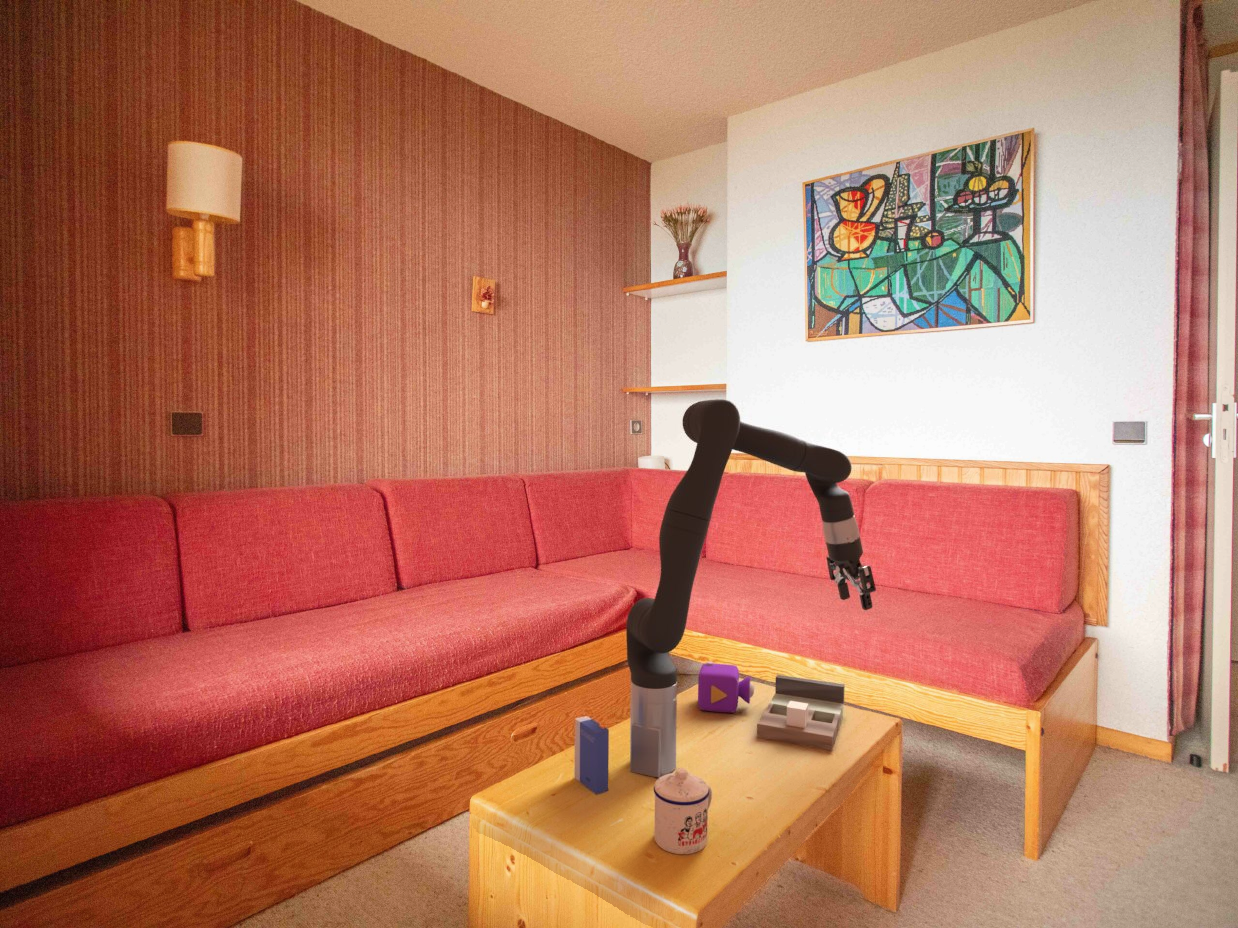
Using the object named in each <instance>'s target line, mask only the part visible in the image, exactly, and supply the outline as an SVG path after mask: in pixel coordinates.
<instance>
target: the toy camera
mask: <svg viewBox="0 0 1238 928" xmlns="http://www.w3.org/2000/svg"><path fill="white" fill-rule="evenodd" d="M698 673H699V674H698V679H697V680H698V682H697V704H698V708H699V710H702V711H707V712H715V713H716V712H717V713H727V714H728V713H731V714H732V713H735V712H736V711H737V709H738V703H739V698H741V700H743V701H744V702H745V703H747V704H748V705H750V702H751V698H752V697H753V696H754V694H755V687H754V684H753V683H752V682H751V676H750V675H748V676H746V677H745V678H744V679H742V680H740V671H739V668H738V666H736V665H735V664H726V663H724V664H723V663H714V661H711V660H708V661H707V662H706V663H703V664H702V665H701V666H700V670H699V672H698Z"/></svg>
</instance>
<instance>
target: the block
mask: <svg viewBox="0 0 1238 928" xmlns="http://www.w3.org/2000/svg"><path fill="white" fill-rule="evenodd" d="M807 722H808V703H801V702H795V701H790V702H789V704H788V706H787V720H786V725H790V726H795V727H801V728H805V727H806V725H807Z"/></svg>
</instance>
